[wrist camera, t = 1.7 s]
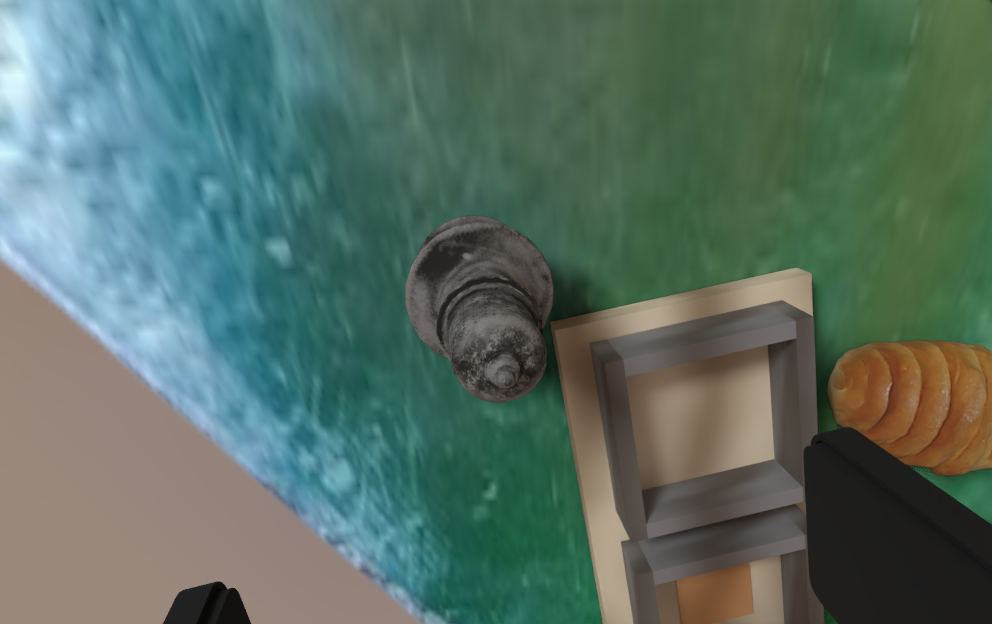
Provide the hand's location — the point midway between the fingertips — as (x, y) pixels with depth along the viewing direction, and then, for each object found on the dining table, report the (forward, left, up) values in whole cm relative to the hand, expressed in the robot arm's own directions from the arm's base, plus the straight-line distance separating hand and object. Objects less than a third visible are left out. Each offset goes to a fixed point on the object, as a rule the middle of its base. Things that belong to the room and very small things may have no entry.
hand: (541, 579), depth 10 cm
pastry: (-21, +11, -20) cm, 31 cm away
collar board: (-9, +14, -19) cm, 25 cm away
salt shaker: (0, 0, -19) cm, 19 cm away
